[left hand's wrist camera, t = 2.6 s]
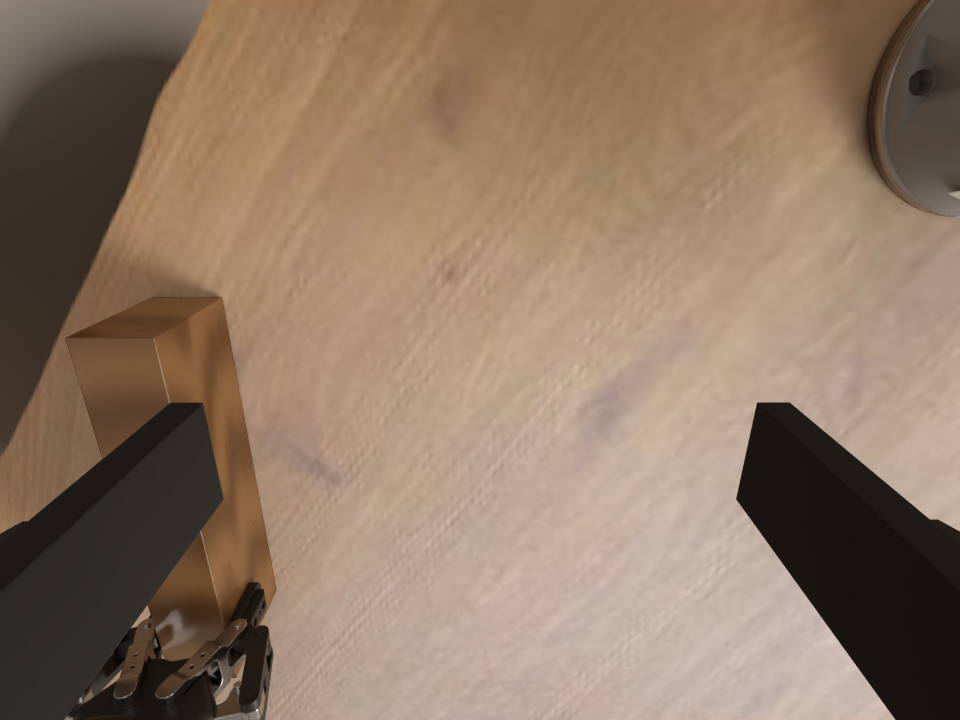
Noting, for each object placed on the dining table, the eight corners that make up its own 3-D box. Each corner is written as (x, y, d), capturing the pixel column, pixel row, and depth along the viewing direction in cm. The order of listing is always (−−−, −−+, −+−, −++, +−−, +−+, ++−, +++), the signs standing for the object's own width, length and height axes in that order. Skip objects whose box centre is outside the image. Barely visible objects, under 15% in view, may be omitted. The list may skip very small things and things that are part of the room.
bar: (151, 297, 37) (64, 337, 30) (222, 297, 37) (153, 337, 29) (221, 590, 47) (169, 678, 40) (276, 590, 47) (236, 678, 40)
